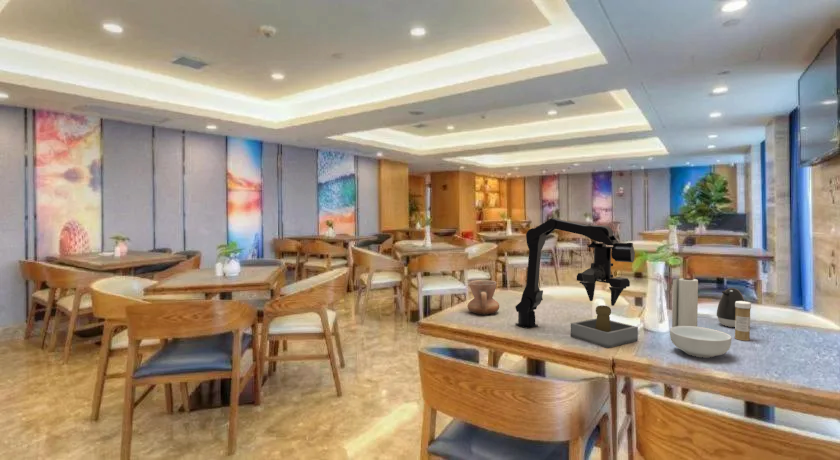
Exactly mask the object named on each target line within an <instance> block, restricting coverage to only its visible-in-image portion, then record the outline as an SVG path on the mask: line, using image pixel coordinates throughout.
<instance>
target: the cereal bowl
mask: <svg viewBox="0 0 840 460" xmlns="http://www.w3.org/2000/svg"><path fill="white" fill-rule="evenodd" d="M669 335H670V336H669V337H670V341H671V342H672V344H673V345H674V346H675V347H676V348H677V349H679V350H680V351H683V352H684V353H685V354H686V355H689V356H691V355H692V357H695V356H696V358H702V357H703V359H704V358H705V359H708V358H709V359H711V358H713V357H715V356H716V357H717V356H721V355H722V356H723V355H724V354H726V353H727V352H728V351H729V350H730V348H731V346H732V336H731V335H730V334H728V333H726V332H723V331H721V330H716V329H713V328H708V327H702V326H697V327H695V326H676V327H673V328H672V327H671V328H670V329H669ZM710 357H711V358H710Z"/></svg>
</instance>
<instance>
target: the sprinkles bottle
mask: <svg viewBox="0 0 840 460" xmlns="http://www.w3.org/2000/svg"><path fill="white" fill-rule="evenodd" d="M735 308H736V312H735V328H734V338H735V340H737V341H738V340H739V341H745V342H746V341H750V340H751V338H750V337H751V335H750V333H751V308H752V303H751V302H750V301H736V302H735Z"/></svg>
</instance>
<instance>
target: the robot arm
mask: <svg viewBox="0 0 840 460" xmlns="http://www.w3.org/2000/svg"><path fill="white" fill-rule="evenodd" d="M612 229H613V228H611V227H610V226H609V225H600V224H597V225H596V224H595V225H591V224H584V223H577V222H573V221H569V220H563V219H559V218H557V217H553V218H552V217H550V218H549V219H547V220H546V221H545V222H543V223H542V224H540V225H537V226H536V227H532V228H530V229H528V230H527V231H526V234H525V239H526V245H527V248H528V262H527V275H526V285H525V287H524V290H523V292H522V295H521V300H520V302H518V304H516V305H515V310H516V312H517V314H518V315H517V316H518V317H517V318H518V321H517V323H515V326H519V327H521V328H524V329H529V328H534V327H538V324H536V312H535V310H537V308H538V306H539V305H541V303H542V301H543V299H544V298H543V295H544V290H541V289H540V287H539V284H540V283H539V281H540V280H539V279H540V271H541V270H540V269H541V258H542V255H541V254H542V250H543V247H544V246H545V244H546V239H547V236H548V235H550V234H551V233H553V231H555V230H558V231H563V232H568V233H572V234H577V235H581V236H584V237H586V238H588V239H589V240H592V241H591V243H590V244H588V245H587V248H591V249H592V248H593V262H591V263H590V268H587V269H585V270H584V271H582V272H578V273H577V275H576V282H577V281H578V283H579V284H580V285H582V286H583V287H584V289H585V291H586V293H587V297H588V299H589V301H590V302H593V300H594V296H595V289H596V283H597V282H599V283H605V284H609V287H608V288H609V290H610V305H611V306H612V307H614V306H615V305H616V302H617V300H619V297H620V295H621V294H622V292H623V291H624V290H625V289H627V287H628V288H629V287H631V286H630V283H631V281H630V280H629V278H627V277H620V276H617V277H614V274H612V272H611V271H612V267H614V263H613V262H612V259H613V260H614V262H620V263H634V261H635V257H636V255H635V254H636V252H635V248H634V243H633V242H619V240H617V238H616V237H615V235H614V232H613V231H614V230H612Z"/></svg>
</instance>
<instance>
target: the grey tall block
mask: <svg viewBox="0 0 840 460" xmlns="http://www.w3.org/2000/svg"><path fill="white" fill-rule="evenodd" d="M698 291H699V280H698V279H696V278H691V277H690V278H686V277H684V278H682V277H681V278H672V305H671V306H672V307H671V308H672V315H671V317H672V318H671V319H672V320H671V321H672V322H671V328H673V327H676V326H695V327H698V310H699V309H698V305H699V304H698V303H699V302H698V301H699V300H698V299H699V298H698V297H699V295H698V294H699V292H698Z"/></svg>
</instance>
